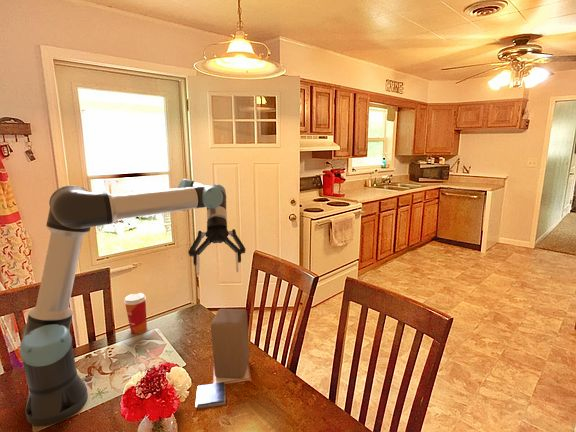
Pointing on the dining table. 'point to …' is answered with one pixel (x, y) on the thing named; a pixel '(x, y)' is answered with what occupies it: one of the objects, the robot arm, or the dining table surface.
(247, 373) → the print card
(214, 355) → the block
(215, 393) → the ink pad
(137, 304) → the coffee cup
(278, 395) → the dining table surface
